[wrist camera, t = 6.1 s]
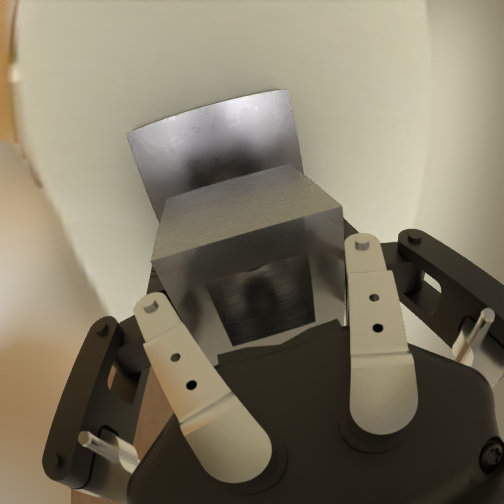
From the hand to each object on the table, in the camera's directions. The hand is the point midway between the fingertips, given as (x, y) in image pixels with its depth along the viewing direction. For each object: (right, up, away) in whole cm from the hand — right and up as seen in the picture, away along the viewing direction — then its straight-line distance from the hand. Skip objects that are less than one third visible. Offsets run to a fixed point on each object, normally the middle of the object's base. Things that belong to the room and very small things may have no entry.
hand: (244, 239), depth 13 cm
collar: (0, 0, 0) cm, 1 cm away
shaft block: (-1, +4, +6) cm, 8 cm away
